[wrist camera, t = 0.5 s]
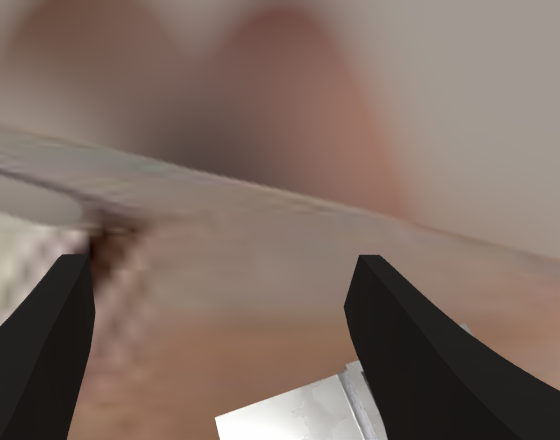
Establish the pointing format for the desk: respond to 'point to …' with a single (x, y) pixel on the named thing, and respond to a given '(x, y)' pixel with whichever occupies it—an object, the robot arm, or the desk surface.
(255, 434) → the lid
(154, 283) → the desk surface
